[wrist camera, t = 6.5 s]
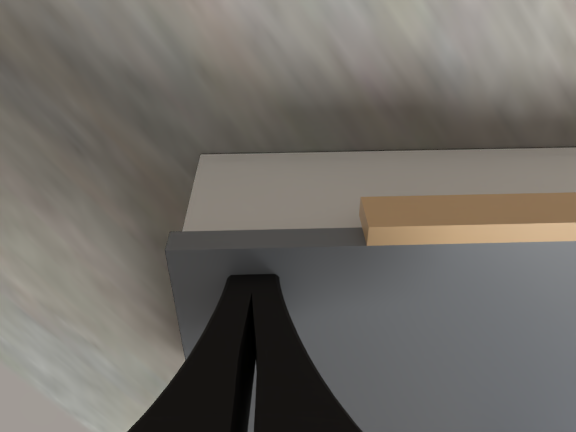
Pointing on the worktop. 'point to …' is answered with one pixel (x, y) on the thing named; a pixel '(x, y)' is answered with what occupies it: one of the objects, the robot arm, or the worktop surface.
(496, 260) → the lid
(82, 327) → the worktop surface
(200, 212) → the storage box
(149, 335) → the worktop surface
